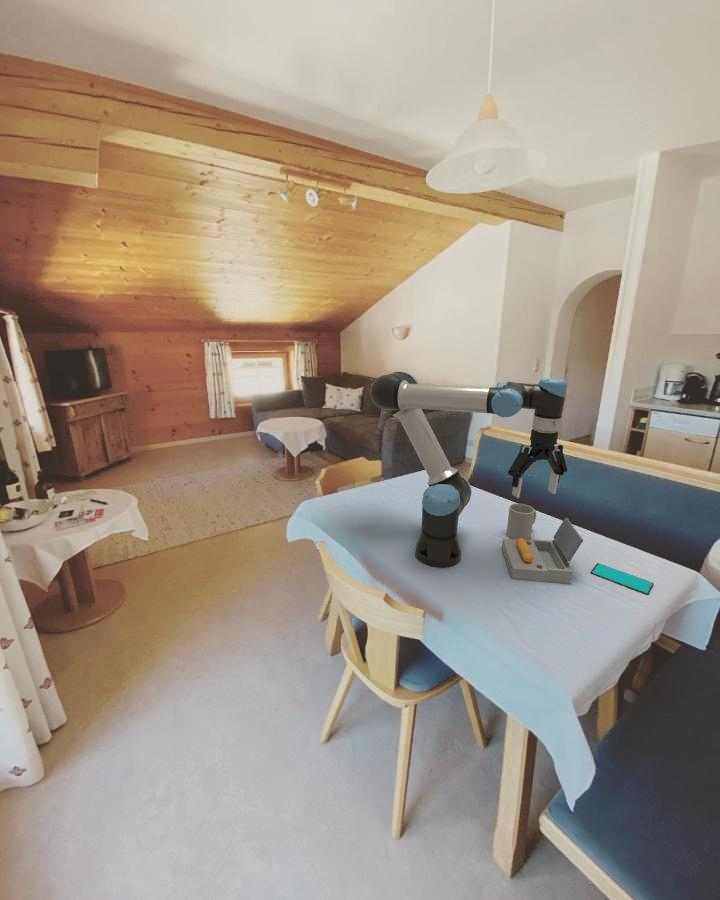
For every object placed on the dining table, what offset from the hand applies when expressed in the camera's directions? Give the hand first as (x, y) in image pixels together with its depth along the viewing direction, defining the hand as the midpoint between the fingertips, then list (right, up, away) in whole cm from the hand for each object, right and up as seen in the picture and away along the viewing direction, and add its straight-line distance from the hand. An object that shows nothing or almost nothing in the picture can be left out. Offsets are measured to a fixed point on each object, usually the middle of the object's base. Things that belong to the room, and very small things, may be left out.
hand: (533, 494), depth 125 cm
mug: (+4, -17, +20) cm, 27 cm away
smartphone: (+24, -26, -6) cm, 35 cm away
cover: (+8, -14, -3) cm, 17 cm away
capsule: (-3, -18, 0) cm, 18 cm away
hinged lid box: (0, -23, +1) cm, 23 cm away
